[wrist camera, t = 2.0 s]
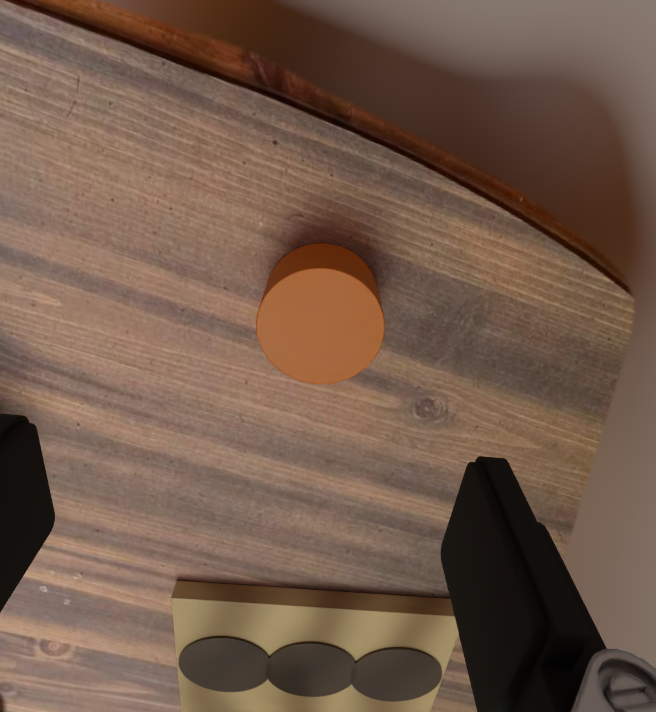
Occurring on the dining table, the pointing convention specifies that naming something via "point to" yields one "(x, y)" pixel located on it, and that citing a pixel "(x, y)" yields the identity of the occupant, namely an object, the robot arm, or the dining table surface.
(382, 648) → the board
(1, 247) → the dining table surface
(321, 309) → the cylinder
